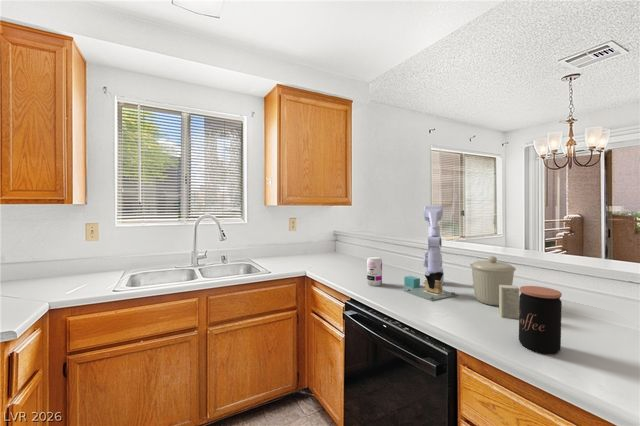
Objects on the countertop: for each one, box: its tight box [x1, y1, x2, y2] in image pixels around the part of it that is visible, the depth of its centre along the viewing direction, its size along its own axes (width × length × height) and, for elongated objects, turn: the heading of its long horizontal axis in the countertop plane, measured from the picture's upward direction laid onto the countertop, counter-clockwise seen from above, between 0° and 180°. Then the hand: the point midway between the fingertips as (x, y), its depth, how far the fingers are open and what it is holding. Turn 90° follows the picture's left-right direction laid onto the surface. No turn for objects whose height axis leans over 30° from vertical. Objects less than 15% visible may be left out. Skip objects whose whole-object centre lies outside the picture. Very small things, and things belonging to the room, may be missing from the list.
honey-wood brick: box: [424, 279, 443, 293], centre depth 152 cm, size 4×7×5 cm, turn 42°
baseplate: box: [403, 285, 459, 302], centre depth 152 cm, size 18×18×1 cm
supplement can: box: [366, 256, 383, 287], centre depth 169 cm, size 8×8×15 cm
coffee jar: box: [518, 285, 563, 355], centre depth 95 cm, size 11×11×18 cm
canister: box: [469, 255, 517, 307], centre depth 138 cm, size 18×18×21 cm
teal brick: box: [403, 275, 421, 289], centre depth 165 cm, size 4×7×5 cm, turn 28°
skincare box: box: [498, 284, 520, 320], centre depth 121 cm, size 6×4×12 cm
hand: (434, 287), depth 152 cm, fingers closed on honey-wood brick, 4 cm apart
